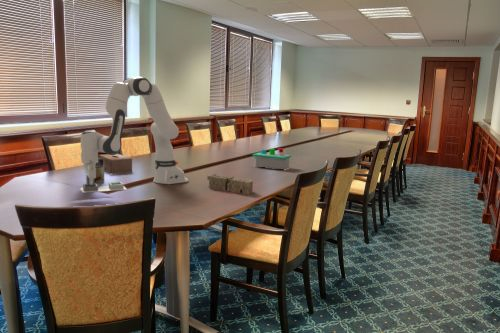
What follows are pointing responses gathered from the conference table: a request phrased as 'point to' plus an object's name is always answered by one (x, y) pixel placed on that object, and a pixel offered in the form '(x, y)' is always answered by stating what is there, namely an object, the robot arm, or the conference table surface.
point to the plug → (88, 182)
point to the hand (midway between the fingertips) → (90, 183)
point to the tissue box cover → (117, 163)
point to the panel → (103, 187)
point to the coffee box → (99, 171)
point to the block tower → (230, 184)
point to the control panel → (272, 159)
